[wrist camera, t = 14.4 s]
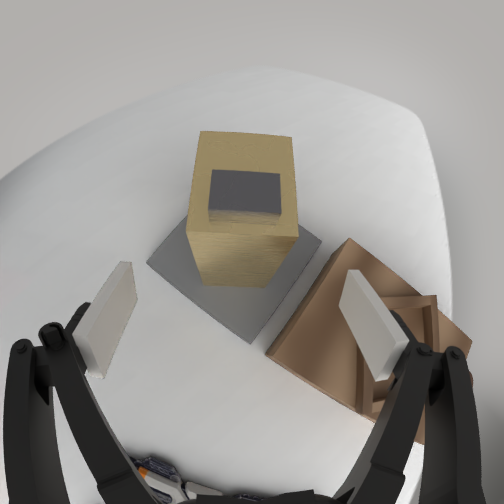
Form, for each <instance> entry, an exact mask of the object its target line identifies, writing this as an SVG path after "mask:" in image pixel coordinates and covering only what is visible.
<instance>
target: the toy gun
mask: <svg viewBox="0 0 504 504" xmlns="http://www.w3.org/2000/svg"><path fill="white" fill-rule="evenodd" d="M128 457H129V456H128ZM129 458H130V460H131V461H132V463H133V464H134V466H135V467H136V469H137V470H138V471H139V473H140V474H141V476H142V477H143V478H144V480H145V481H146V482H147V484H148V485H149V486H150V488H151V489H152V490H153V491H154V493H155V494H156V495H157V496H158V497H159V498H160V499H161V501H162V502H163V503H164V504H177V503H179V502H182V501H186V500H190V499H196V494H202V495H223V493H222V492H221V491H217V490H214V489H211V488H208V487H205V486H202V485H199V484H196V483H193V482H190V481H188V482H187V483H186V484H185V483H183V482H182V480H181V476H180V475H179V474H178V472H177V471H176V469H175V467H173V466H171V465H169V464H166V463H164V462H162V461H160V460H158V459H156V458H153V457H150V458H146V459H145V460H144V462H143V461H141V460H139V459H138V460H135V459H133V458H131V457H129ZM234 497H235V498H240V499H245V500H250V501H261V500H264V499H266V498H263V499H259V498H258V497H257V496H254V497H251V496H249V494H244V495H243V494H239V495H236V496H234Z"/></svg>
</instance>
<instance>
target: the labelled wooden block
mask: <svg viewBox="0 0 504 504" xmlns="http://www.w3.org/2000/svg"><path fill="white" fill-rule="evenodd" d="M186 234H187V237H188V240H189V243H190V246H191V249H192V252H193V256H194V259H195V262H196V265H197V268H198V271H199V274H200V276H201V279H202V282H203V285H205V286H226V287H251V288H265V287H266V286H267V284H268V283H269V281H270V280H271V278H272V277H273V275H274V274H275V272H276V271H277V269H278V268H279V266H280V265H281V263H282V262H283V260H284V259H285V257H286V256H287V254H288V253H289V251H290V250H291V248H292V247H293V245H294V244H295V242H296V240H297V239H298V237H299V232H298V214H297V198H296V184H295V171H294V159H293V147H292V137H285V136H276V135H265V134H252V133H237V132H214V131H200V137H199V142H198V148H197V154H196V160H195V167H194V173H193V180H192V187H191V194H190V201H189V209H188V217H187V225H186Z"/></svg>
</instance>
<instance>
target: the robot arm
mask: <svg viewBox="0 0 504 504" xmlns="http://www.w3.org/2000/svg"><path fill="white" fill-rule="evenodd" d="M137 300H138V299H137V294H136V288H135V282H134V275H133V268H132V262H124V261H120V262H119V264H118V265H117V266H116V268H115V269H114V271H113V272H112V273H111V275H110V276H109V278H108V279H107V281H106V282H105V284H104V285H103V287H102V288H101V289H100V291H99V292H98V294H97V295H96V297H95V298H94V300H93V302H92V303H88V302H85V303H84V304H82V305H81V306H80V307H79V308H78V309H77V311H76V312H75V314H74V315H73V317H72V318H71V320H70V321H69V323H68V324H67V326H66V327H65V329H64V328H63V326H62V325H61V324H60V323H57V322H52V323H48V324H46V325H44V326H43V327H42V328H41V329H40V331H39V334H38V336H39V338H40V340H41V343H42V345H43V346H36V347H34V346H33V344H32V343H31V341H30V340H28V339H20V340H18V341H16V342H15V343H14V344H13V345H12V348H11V351H10V357H9V363H8V370H7V378H6V387H5V398H4V415H3V447H4V464H5V474H6V482H7V489H8V496H9V504H70V501H69V498H68V494H67V490H66V486H65V482H64V477H63V473H62V468H61V463H60V457H59V451H58V444H57V437H56V429H55V419H54V406H53V386H55V388H56V391H57V394H58V397H59V400H60V403H61V406H62V408H63V411H64V414H65V416H66V419H67V421H68V424H69V426H70V429H71V431H72V433H73V436H74V438H75V440H76V442H77V445H78V447H79V449H80V451H81V453H82V455H83V457H84V459H85V461H86V463H87V465H88V467H89V469H90V471H91V472H92V474H93V476H94V478H95V480H96V482H97V489H98V491H99V493H100V495H101V497H102V498H103V500H104V501H105V503H106V504H164V503H163V502H162V501H161V499H160V498H159V497H158V496H157V495H156V494H155V493H154V491H153V490H152V489H151V488H150V486H149V485H148V484H147V482H146V481H145V480H144V478H143V477H142V476H141V474H140V473H139V471H138V470H137V469H136V467H135V466H134V464H133V463H132V461H131V460H130V458H129V457H128V455H127V454H126V452H125V450H124V449H123V447H122V446H121V444H120V442H119V441H118V439H117V437H116V436H115V434H114V432H113V431H112V429H111V427H110V425H109V424H108V422H107V420H106V418H105V416H104V414H103V412H102V410H101V409H100V407H99V405H98V403H97V401H96V399H95V396H94V394H93V392H92V390H91V388H90V386H89V384H88V381H87V379H86V377H85V375H84V374H85V371H86V369H87V370H88V372H89V374H90V376H93V377H97V378H102V379H104V378H105V375H106V373H107V370H108V367H109V365H110V362H111V360H112V357H113V355H114V352H115V350H116V348H117V345H118V343H119V341H120V338H121V336H122V334H123V331H124V329H125V327H126V324H127V322H128V320H129V318H130V315H131V313H132V311H133V309H134V307H135V304H136V302H137ZM339 308H340V310H341V312H342V313H343V315H344V317H345V319H346V321H347V323H348V325H349V327H350V329H351V331H352V333H353V335H354V337H355V339H356V341H357V344H358V346H359V348H360V350H361V352H362V354H363V356H364V358H365V360H366V362H367V364H368V366H369V369H370V371H371V373H372V375H373V377H374V379H375V381H381V380H387V379H388V378H389V376H390V375H391V373H392V371H393V373H394V375H395V378H394V380H393V381H392V383H391V384H390V386H389V388H388V389H387V390H388V391H389V392H388V395H387V397H386V400H385V402H384V404H383V407H382V409H381V412H380V414H379V416H378V418H377V421H376V423H375V425H374V427H373V429H372V432H371V434H370V436H369V438H368V440H367V442H366V444H365V446H364V448H363V450H362V452H361V454H360V456H359V457H358V459H357V461H356V463H355V465H354V467H353V468H352V470H351V472H350V474H349V475H348V477H347V479H346V480H345V482H344V483H343V485H342V486H341V487H340V488H339V490H338V491H337V492H336V493H335V495H334V496H333V497H332V498H331V497H328V496H324V495H318V494H314V490H306V491H299V492H290V493H284V494H281V495H278V496H275V497H271V498H268V499H264V500H261V501H250V500H245V499H240V498H235V497H230V496H225V495H202V494H196V499H190V500H186V501H182V502H179V503H177V504H395V503H396V500H397V498H398V496H399V494H400V492H401V489H402V487H403V485H404V482H405V475H404V474H403V470H404V468H405V465H406V462H407V460H408V457H409V454H410V451H411V449H412V446H413V443H414V440H415V436H416V433H417V430H418V427H419V423H420V420H421V416H422V412H423V408H424V405H425V443H424V460H423V472H422V482H421V489H420V496H419V504H486V501H485V497H484V493H483V490H482V486H481V451H480V437H479V427H478V419H477V412H476V405H475V399H474V394H473V388H472V383H471V379H470V374H469V370H468V366H467V361H466V357H465V354H464V352H463V351H462V350H461V349H460V348H458V347H456V346H448V347H447V348H446V350H445V352H444V353H440V352H434V351H433V349H432V348H431V347H430V346H429V345H427V344H425V343H422V342H418V341H417V339H416V338H415V336H414V335H413V333H412V332H411V331H410V329H409V328H408V327H407V325H406V323H405V322H404V321H403V319H402V318H401V316H400V315H399V314H397V313H396V312H395V311H394V310H388V309H387V307H386V306H385V304H384V303H383V302H382V300H381V299H380V297H379V296H378V295H377V293H376V292H375V291H374V289H373V288H372V286H371V285H370V284H369V282H368V281H367V280H366V278H365V277H364V276H363V274H362V273H361V272H360V271H359V270H348V273H347V277H346V280H345V284H344V288H343V292H342V295H341V299H340V302H339Z"/></svg>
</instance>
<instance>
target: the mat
mask: <svg viewBox="0 0 504 504" xmlns="http://www.w3.org/2000/svg"><path fill="white" fill-rule="evenodd" d="M187 217H188V215H187V216H186V217H185V218H184V219H183V220H182V221H181V223H180V224H179V225H178V226H177V227H176V228H175V229H174V230H173V231H172V233H171V234H170V235H169V236H168V237H167V238H166V239H165V241H164V242H163V243H162V244H161V245H160V246H159V247H158V249H157V250H156V251H155V252H154V253H153V254H152V256H151V257H150V258H149V259H148V260H147V262H146V263H147V264H148V265H149V266H150V267H151V268H152V269H153V270H155V271H156V272H157V273H158V274H159V275H161V276H162V277H163V278H164V279H165V280H167V281H168V282H169V283H170V284H171V285H173V286H174V287H175V288H176V289H177V290H179V291H180V292H181V293H182V294H184V295H185V296H186V297H187V298H189V299H190V300H191V301H192V302H194V303H195V304H196V305H198V306H199V307H200V308H201V309H203V310H204V311H205V312H207V313H208V314H209V315H210V316H212V317H213V318H214V319H216V320H217V321H218V322H220V323H221V324H222V325H224V326H225V327H226V328H228V329H229V330H230V331H232V332H233V333H234V334H236V335H237V336H239V337H240V338H241V339H243V340H244V341H246V342H247V343H248V344H251V343H252V342H253V340H254V339H255V337H256V336H257V335H258V333H259V332H260V331H261V329H262V328H263V327H264V325H265V324H266V322H267V321H268V320H269V318H270V317H271V315H272V314H273V313H274V311H275V310H276V308H277V307H278V306H279V304H280V303H281V301H282V300H283V298H284V297H285V296H286V294H287V293H288V291H289V290H290V288H291V287H292V285H293V284H294V283H295V281H296V280H297V278H298V277H299V275H300V274H301V272H302V271H303V269H304V268H305V266H306V265H307V263H308V262H309V260H310V259H311V257H312V256H313V254H314V253H315V251H316V250H317V248H318V247H319V245H320V244H321V242H322V241H321V240H320V239H318V238H317V237H316V236H314V235H313V234H311V233H310V232H308V231H307V230H306V229H304V228H303V227H301V226H300V225H299V224H298V232H299V237H298V239H297V240H296V242H295V244H294V245H293V247H292V248H291V250H290V251H289V253H288V254H287V256H286V257H285V259H284V260H283V262H282V263H281V265H280V266H279V268H278V269H277V271H276V272H275V274H274V275H273V277H272V278H271V280H270V281H269V283H268V284H267V286H266V287H265V288H251V287H226V286H205V285H203V282H202V279H201V276H200V274H199V271H198V268H197V265H196V262H195V259H194V256H193V252H192V249H191V246H190V243H189V240H188V237H187V234H186V225H187Z"/></svg>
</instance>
